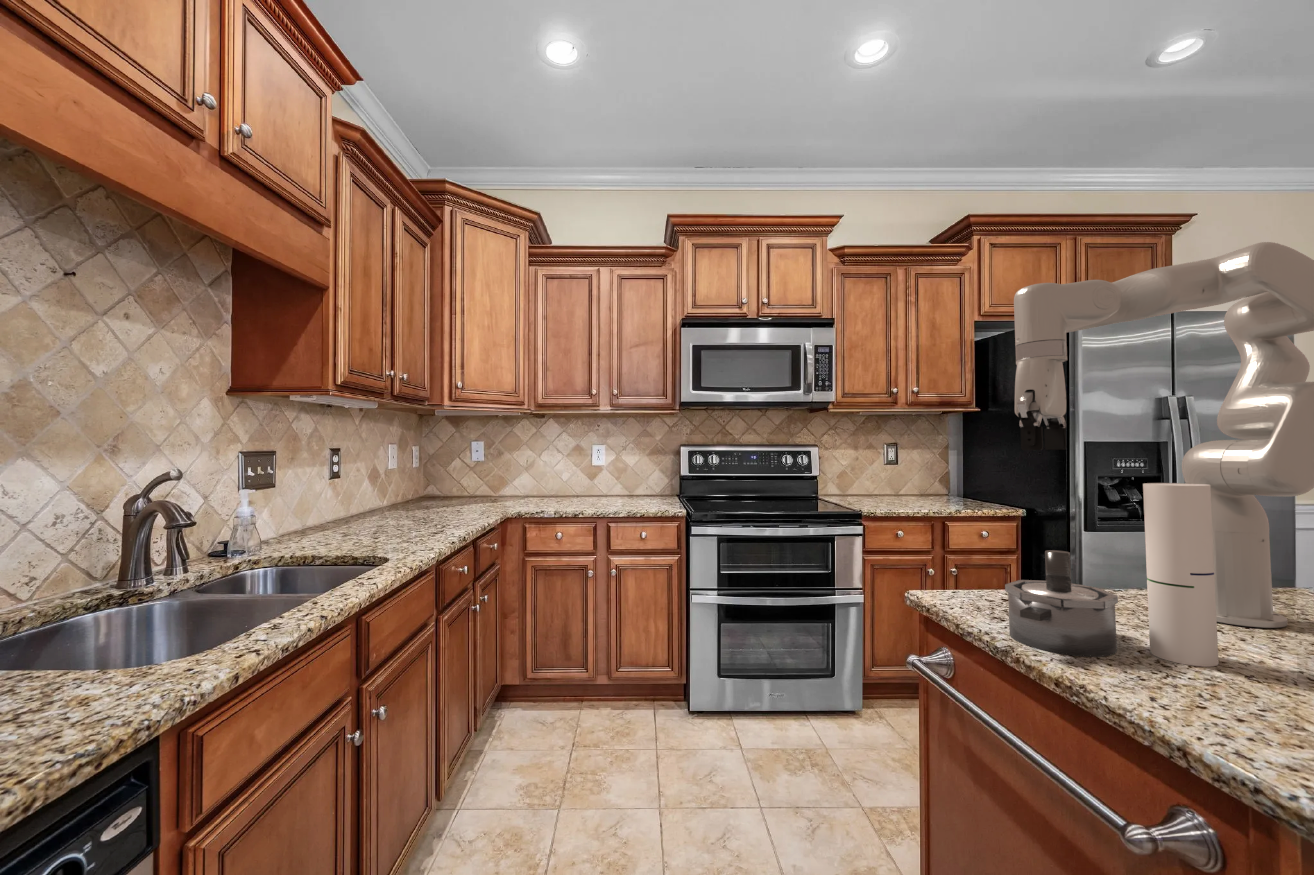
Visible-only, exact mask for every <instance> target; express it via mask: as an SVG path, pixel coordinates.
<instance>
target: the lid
mask: <svg viewBox="0 0 1314 875" xmlns="http://www.w3.org/2000/svg"><path fill="white" fill-rule="evenodd" d="M1044 557H1045V560H1044V561H1045V581H1046V583H1028V584H1024V585H1022V591H1024V592H1027V593H1032V594H1038V595H1043V596H1049V597H1055V598H1060V599H1085V600H1098V599H1099V596H1098V593H1097V592H1095V591H1092V590H1089V589H1086V588H1081V587H1076V586H1071V583H1072V572H1071V571H1072V570H1071V569H1072V568H1071V552H1069V551H1065V550H1055V549H1052V550H1051V549H1050V550H1045V551H1044Z"/></svg>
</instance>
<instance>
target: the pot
mask: <svg viewBox="0 0 1314 875" xmlns="http://www.w3.org/2000/svg"><path fill="white" fill-rule="evenodd" d="M1028 583H1046V580H1038V579H1037V580H1032V579H1030V580H1029V579H1018V580H1016V581H1012V582H1009V583H1005V584H1004V589H1005V592H1006V593H1007V594H1008V595H1007V597H1008V599H1007V600H1008V624H1009V626H1008V627H1009V628H1008V629H1009V630H1008V631H1009V637H1010V638H1012V639H1013V640H1014V641H1016V642H1018V643H1020V644H1023V645H1025V646H1028V647H1030V648H1033V649H1038V650H1041V651H1045V652H1050V653H1055V654H1060V655H1067V656H1074V657H1075V656H1076V657H1087V658H1089V657H1090V658H1093V657H1094V658H1095V657H1097V658H1099V657H1107V656H1112V655H1114V654H1116V653H1117V651H1118V647H1117V624H1116V623H1117V622H1116V621H1117V620H1116V604H1118V603H1119V599H1118V598H1119V596H1118V595H1116V594H1114V593H1112V592H1110V591H1107V590H1104V589H1101V588H1099V587H1096V586H1089V585H1085V584H1079V583H1072V582H1071V586H1076V587H1081V588H1086V589H1089V590H1092V591H1095V592H1097V593H1098V596H1099V599H1098V600H1085V599H1060V598H1055V597H1049V596H1043V595H1038V594H1032V593H1027V592H1024V591H1022V585H1024V584H1028Z"/></svg>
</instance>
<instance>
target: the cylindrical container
mask: <svg viewBox="0 0 1314 875" xmlns="http://www.w3.org/2000/svg"><path fill="white" fill-rule="evenodd" d="M1142 492H1143V493H1142V495H1143V515H1144V540H1145V542H1144V543H1145V562H1146V564H1145V565H1146V587H1147V588H1146V590H1147V612H1148V630H1149V631H1148V632H1149V634H1148V636H1149V652H1150V653H1151V655H1153V656H1155V657H1157V658H1160V659H1162V660H1164V661H1165V660H1166V661H1169V662H1171V663H1172V662H1173V663H1176V664H1182V665H1188V666H1194V667H1207V668H1208V667H1217V666H1218V665H1219V664H1220V663H1219V644H1218V643H1219V642H1218V622H1217V619H1216V598H1215V576H1214V573H1213V572H1214V555H1213V533H1212V512H1211V490H1210V485H1207V484H1186V483H1182V482H1181V483H1179V482H1147V483H1145V482H1144V483H1142Z"/></svg>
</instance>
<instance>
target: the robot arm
mask: <svg viewBox="0 0 1314 875" xmlns="http://www.w3.org/2000/svg"><path fill="white" fill-rule="evenodd" d="M1235 301H1236V303H1235ZM1230 302H1234V304H1232V305H1231V306H1230V307H1228V308H1227V310H1226V313H1225V314H1224V319H1223V323H1224V324H1223V325H1224V328H1225V331H1226V333H1227V335H1228V336H1229V338H1230V340H1231V341H1232V342H1233V344H1234V345H1235V348H1236V349H1237V351H1238V354H1239V357H1240V366H1239V369H1238V371H1237V374H1236V376H1235V378H1234V380H1233V382H1232V384H1231V386H1230V388H1229V389H1228V392H1227V393H1226V396H1225V397H1224V400H1223V402H1222V404H1221V406H1220V408H1219V410H1218V413H1217V414H1218V415H1217V417H1216V424H1217V427H1218V430H1219V431H1220V432H1221V433H1223V434H1224V435H1226V436H1228V437H1230V438H1234V439H1220V440H1211V441H1210V440H1209V441H1206V442H1202V443H1199V444H1196V445H1194V446H1193V447H1191V448H1190V449H1189V450H1187V451H1186V452H1185V454H1184V456H1183V457H1182V460H1181V471H1182V475H1183V476H1182V478H1183V480H1184V482H1185V483H1186V484H1207V485H1210V490H1211V512H1212V533H1213V555H1214V572H1213V573H1214V576H1215V598H1216V619H1217V623H1221V624H1228V625H1233V626H1242V627H1252V628H1262V629H1263V628H1265V629H1276V628H1277V629H1279V628H1285V627H1287V626H1288V618H1287V617H1286V616H1284V615H1282V614H1280V613H1277V612H1275V611H1274V605H1273V604H1274V603H1273V584H1272V583H1273V582H1272V564H1271V561H1272V560H1271V544H1270V543H1271V542H1270V541H1271V540H1270V524H1269V522H1270V521H1269V519H1268V515H1267V512H1266V511H1265V509H1264V507H1263V506H1262V504H1261V503H1260V502H1259V500H1258V498H1257V497H1256V496H1262V497H1263V496H1266V497H1280V498H1281V497H1284V498H1285V497H1286V498H1287V497H1298V496H1301V495H1304V494H1306V493H1308V492H1310V491H1312V490H1313V489H1314V381H1307V379H1308V377H1309V373H1310V369H1311V368H1310V367H1311V366H1310V362H1309V360H1308V358H1307V357H1306V354H1304V353H1303V352H1302V351H1301V350H1300V349H1299V348H1298V347H1297V346H1296V345H1295V344H1294V343H1293V341H1292V340H1291V339H1290V338H1289V337H1288V336H1293V335H1299V334H1303V333H1309V332H1314V259H1313V258H1311V257H1309V256H1307V255H1306V254H1304V253H1302V252H1300V251H1298V250H1296V249H1294V248H1292V247H1289V246H1287V245H1284V244H1280V243H1278V242H1272V241H1263V242H1262V241H1261V242H1257V243H1254V244H1250V245H1248V246H1245V247H1242V248H1239V249H1237V250H1234V251H1231V252H1228V253H1225V254H1222V255H1219V256H1216V257H1215V256H1214V257H1211V258H1207V259H1201V260H1196V261H1190V262H1186V263H1180V264H1178V263H1177V264H1174V265H1168V266H1160V267H1155V268H1151V269H1148V270H1145V271H1140V272H1138V273H1135V274H1132V275H1129V276H1127V277H1124V278H1121V279H1118V280H1115V281H1113V282H1110V281H1107V280H1104V279H1103V280H1102V279H1088V280H1083V281H1076V282H1069V283H1055V282H1041V283H1034V284H1030V285H1027V286H1024V287H1022V288H1020V289H1018V290H1017V291H1016V292H1015V294H1014V297H1013V310H1014V311H1013V312H1014V313H1013V315H1014V316H1013V317H1014V338H1015V339H1014V340H1015V341H1014V342H1015V343H1014V345H1015V346H1014V347H1015V365H1016V369H1015V378H1014V379H1015V380H1014V414H1015V415H1016V416H1017V417H1018V418H1019V424H1018V425H1019V427H1020V448H1021V450H1022V451H1042V450H1045V451H1064V450H1066V449H1067V423H1066V418H1067V415H1066V413H1067V390H1066V380H1065V379H1066V377H1065V371H1064V365H1063V364H1064V362H1067V361H1068V346H1067V333H1071V332H1073V333H1074V332H1077V331H1078V332H1079V331H1083V330H1084V331H1085V330H1089V329H1094V328H1098V327H1103V326H1108V325H1109V326H1110V325H1113V324H1119V323H1120V324H1121V323H1127V322H1133V321H1140V320H1145V319H1149V318H1154V317H1158V316H1159V317H1160V316H1165V315H1169V314H1174V313H1179V312H1185V311H1191V310H1196V309H1197V310H1198V309H1203V308H1208V307H1213V306H1214V307H1215V306H1219V305H1223V304H1228V303H1230ZM1042 419H1043V422H1044V424H1045V426H1046V427H1045V428H1043V426H1041V423H1042Z"/></svg>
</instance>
